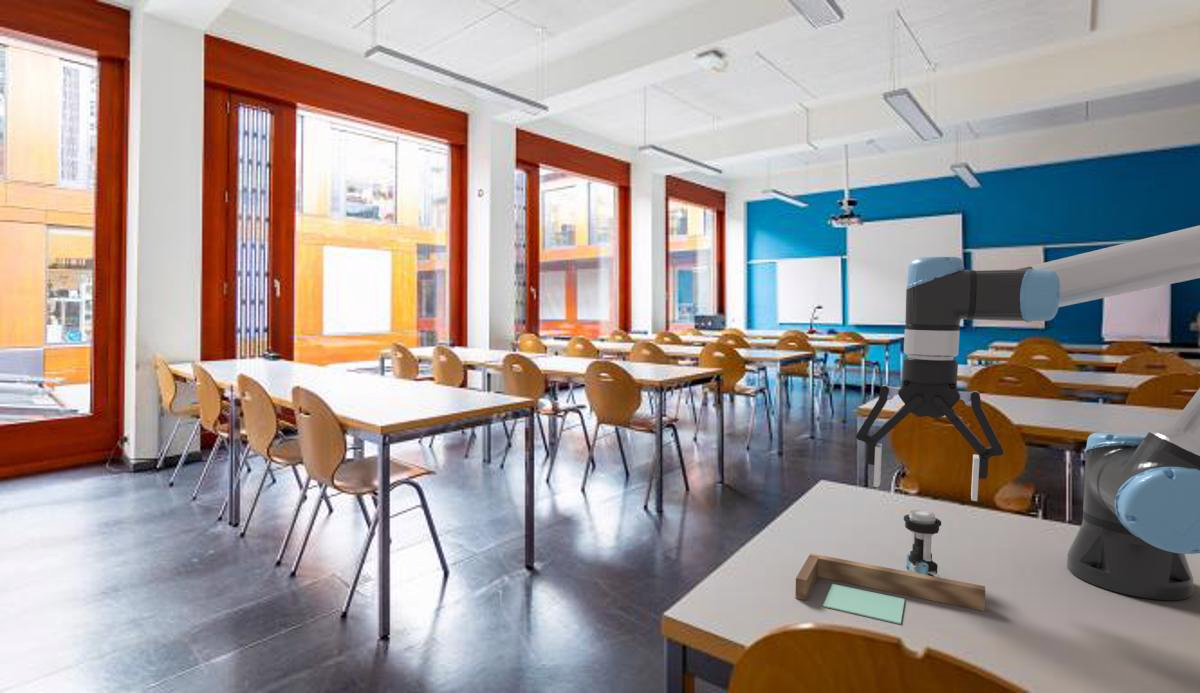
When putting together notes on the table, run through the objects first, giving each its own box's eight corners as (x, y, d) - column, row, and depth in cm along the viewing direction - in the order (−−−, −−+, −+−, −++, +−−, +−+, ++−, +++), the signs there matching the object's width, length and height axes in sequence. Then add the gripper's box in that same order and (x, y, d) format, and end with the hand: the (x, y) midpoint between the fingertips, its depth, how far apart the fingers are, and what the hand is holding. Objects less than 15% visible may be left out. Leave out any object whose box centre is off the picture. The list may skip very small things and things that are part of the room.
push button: (952, 584, 96) (955, 521, 95) (920, 586, 95) (923, 522, 95) (924, 567, 102) (927, 507, 102) (894, 568, 102) (896, 508, 101)
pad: (904, 600, 91) (904, 598, 91) (900, 624, 84) (900, 622, 84) (832, 585, 96) (832, 583, 96) (823, 606, 89) (823, 605, 89)
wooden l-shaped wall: (984, 606, 89) (984, 586, 89) (987, 641, 79) (988, 618, 79) (809, 571, 101) (810, 553, 100) (795, 598, 91) (795, 578, 91)
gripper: (1024, 360, 94) (1016, 498, 95) (848, 352, 106) (843, 474, 108) (1030, 363, 87) (1021, 511, 89) (841, 354, 100) (836, 485, 101)
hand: (923, 491), depth 98 cm, fingers open, 13 cm apart
